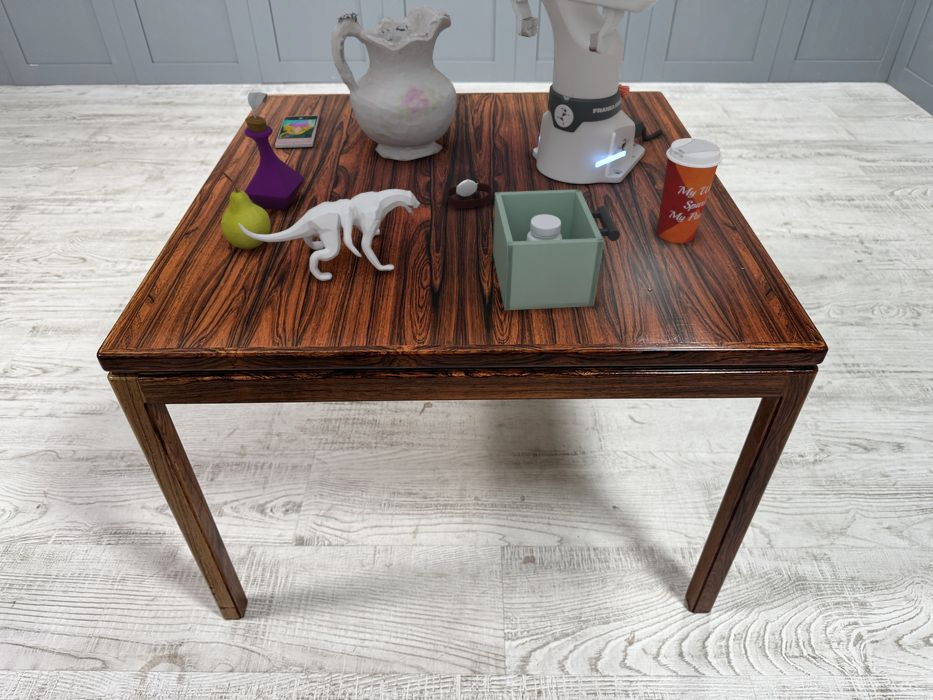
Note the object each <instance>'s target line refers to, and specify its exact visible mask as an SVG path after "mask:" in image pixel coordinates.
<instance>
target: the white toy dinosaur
mask: <svg viewBox="0 0 933 700" xmlns="http://www.w3.org/2000/svg"><path fill="white" fill-rule="evenodd" d="M420 205H421V202H419V200H418V198H416V196H415V195H414V193H413V192H412V191H411V190H405V189H399V188H391V189H384V190H379V191H366V192H361V193H359V194H356V195H355V196H352V197H351V199H348V198H344V199H343V198H341V199H340V198H339V199H338V200H336V201H323V202H321V203H319V204H318V205H315V206H314V207H311V208H310V209H308V210H307V211H306V212H305V213H304V214H303V216H301V217H300V218H299V219H298V220H297V221H296V222H295V223H294V224H293V225H292V226H290V227H289V228H287V229H285V230H282V231H279V232H275V233H274V232H273V233H270V234H268V235H263V234H255V233H252V232H250V231H248V230H247V229H245V228H244V227H243V226H242V225H241V224H240V223H238V224H239V226H240V228H241V229H242V231H243V232H244V233H245V234H246V235H247V236H249V237H251V238H254V239H257V240H261V241H264V242H266V243H278V242H279V243H280V242H287V241H292V240H297V239H303V241H304V243H305V244H306V245H307V246H308V247H309V248H310V249H311V250H314V251H313V253H312V254H311V255H310V257H309V271H310V272H311V274H312V275H313V276H314V277H315V279H317V280H318V281H321V282H324V281H325V282H326V281H330V280H332V278H333V274H332V273H331V272H321V271H320V269H319V267H318V266H319V261H321V262H322V261H323V262H328V261H330V260H333V259H334V258H336V257H337V256H338V255H339V254H340V251H341V245H342V239H341V230H343V231H342V232H343V243H344V245H345V246H346V247H347V248H348V250H350V252H352V253H353V254H354V256H356V257H357V258H358V257H359V258H362V254H361V253H360V252H359V250H357V248H356V247H355V246H354V243H353V238H352V234H353V226H354V227H355V228H356V229H357V230H358V231H360V232H361V233H362V237H361V242H360V245H361V249H362V251H363V254H365V256H366V258H367V260H368V261H369V262H370V263H371V264H372V265H373V267H375V268H376V270H378V271H394V269H395V266H394V264H386V265H382V264H381V263H380V260H379V259H378V257H377V255H376V254H375V253H374V251H373V249H372V242H373V239H374V237H375V236H378V235H380V234H381V230H380V226H381V223H382V222H383V221H384V219H385V217H386V216H387V214H388V213H389V212H391V211H393V210H394V209H395V208H397V207H403V208H404V209H405V210H406V212H407V213H408V214H414V211H413V209H418V207H419V206H420ZM410 206H412V207H413V208H412V207H410ZM313 237H316V238H319V240H317V241H313Z"/></svg>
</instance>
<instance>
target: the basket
mask: <svg viewBox="0 0 933 700" xmlns="http://www.w3.org/2000/svg"><path fill="white" fill-rule="evenodd" d="M493 203H494V205H493V206H494V207H493V238H492V239H493V240H492V241H493V242H492V256H493V257H492V258H493V262H494V266H495V272H496V276H497V281H498V287H499V290H500V291H499V292H500V296H501V300H502V305H503V310H504V311H520V310H542V309H561V308H563V309H564V308H584V307H585V308H586V307H595V301H596V295H597V289H598V282H599V275H600V270H601V269H600V268H601V264H602V257H603V252H604V251H603V250H604V244H605V240H604V237H607V239H608V240H609V241H611V242H616V241H618V240H619V239H620V237H621V232H620V229H618V226H617V224H616V222H615V220H614V219H613V217H612V216H613V215H611V212H610V211H609V208H608V207H607V206H606V205H599V206H598V207H597V208H596V210H590V208H589V205H588V204H587V201H586V199H585V197H584V194H583V191H582V190H581V189H578V188H577V189H575V188H574V189H553V190H525V191H520V190H519V191H495V192H494V202H493ZM542 214H548V215H553V216H555V217H557V218H559V219H560V221H561V230H560V233H561V235H562V240H539V241H526V240H527V234H528V233H529V231H530V224H531V219H532V218H533V217H535V216H537V215H542ZM595 219H598V220H599V222H600V224H601V226H602V228H601V227H600V228H599V227H598V225H597V223H596V220H595Z"/></svg>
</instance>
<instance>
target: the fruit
mask: <svg viewBox="0 0 933 700" xmlns="http://www.w3.org/2000/svg"><path fill="white" fill-rule="evenodd" d="M220 174H222V175H223V176H224V177H225V178H226V179H227V180H229V181H230V182H231V184H233V186H234V190H233V191H232V192H231V193H230V196H229V204H228V206H227V208H226V209H225V211H224V213H223V214H222V217H221V220H220V221H221V222H220V223H221V225H220V228H221V232H222V234H223V236H224V238H225V239H226V241H227V242H229V244H231V246H233V247H235V248H238V249H241V250H245V251H250V250H254V249H256V248H258V247H260V246H261V245H262V244H264V243H265V241H261V240H257V239H254V238H251V237H249V236H247V235H246V234H245V233H244V232H243V231H242V229H241V228H240V226H239V224H238V223H240V224H241V225H242V226H243V227H244V228H245V229H247V230H248V231H250V232H252V233H255V234H263V235H268V234H271V228H272V227H271V226H272V225H271V219H270V216H269V214H268V213H267V211H266V210H265V208H261V207H260V206H259V205H257V204H256V203H255V202H253V201H252V200H251V199H249V197H248V195H247V194H246V193H245V192H244V191H245V190H242V189H238V187H237V186H236V183H235V182H234V181H233V180H232V178H231V177H230V176H229V175H228V174H227V173H225V172H224V171H223V170H221V171H220Z"/></svg>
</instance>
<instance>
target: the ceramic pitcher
mask: <svg viewBox="0 0 933 700" xmlns="http://www.w3.org/2000/svg"><path fill="white" fill-rule="evenodd" d="M358 16H359V14H358V13H355V12H351V13H345V14H341V15H340V16H339V17H336V19H337V23H336V24H335V26H334V28H333V30H332V32H331V39H330V47H331V55H332V59H333V63H334V67H335V69H336V70H337V72H338V74H339V76H340V79H341V80H342V83H343V84H344V85H345V86H346V87H347V89H348V91H349V101H350V107H351V109H352V110H353V115H354V118H355V121H356V122H357V125H358V126H359V128H360V129H361V130H362V132H363V133H364V134H365V135H366V136H367V137H368V138H369V139H370V140H371V141H374V142H375V143H377V146H376V147H375V148H374V150H375V151H376V152H377V153H378V154H379V156H380V157H382V158H384V159H391V160H397V161H401V162H407V161H411V160H417V159H420V158H424V157H428V156H432V155H435V154H438V153H439V152H440V151H441V150H442V149H443V146H442V144H439V143H437V142H436V141H438V140H440V139H441V138H442V137H443V136H444V135H445V134H446V133H447V131H448V129H449V128H450V126H451V125H452V123H453V121H454V118H455V114H456V109H457V99H458V98H457V91H456V88H455V86H454V83H453V82H452V81H451V80H450V79H449V78H448V77H447V76H446V75H445V74H444V73H443V72H441V71H440V70H439V69H437V68H436V66H435V63H434V59H433V55H434V50H435V47H436V46H435V45H436V42H437V39H438V37H439V36H440V34H441V33H442V32H443V31H444V30H446V29H448V28H450V27H451V26H452V19H451V17H450V16H453V15H451V14H450V13H448V12H447V11H445V10H444V11H443V10H442V9H440V10H439V11H438V10H435V9H434V8H432V7H430V6H428V5H420V6H416V7H414V8H412V9H411V10H409V12H408V13H407V14H406V16H404V18H402V19H394V18H391V17H389V16H384V17H383V18H381V19H380V21H379V22H378V23H377V24H376V25H375V28H374V29H373V31H371V30H369V29H363V27H362V26H361V24H360V23H359V21H358ZM348 37H349V38H350V37H354V38H356V39H357V40H358V41H359V42H360V43H361V44H364V45H365V48H366V51H367V55H368V59H369V60H368V61H369V65H368V68H367V71H366V73H364V74H363V75H362V76H361V77H360V78H359V79H358V80H357V81H356V80H355V77H354V74H353V71H352V70H351V68H350V66H349V65H348V62H347V60H346V58H345V42H346V39H347V38H348Z"/></svg>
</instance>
